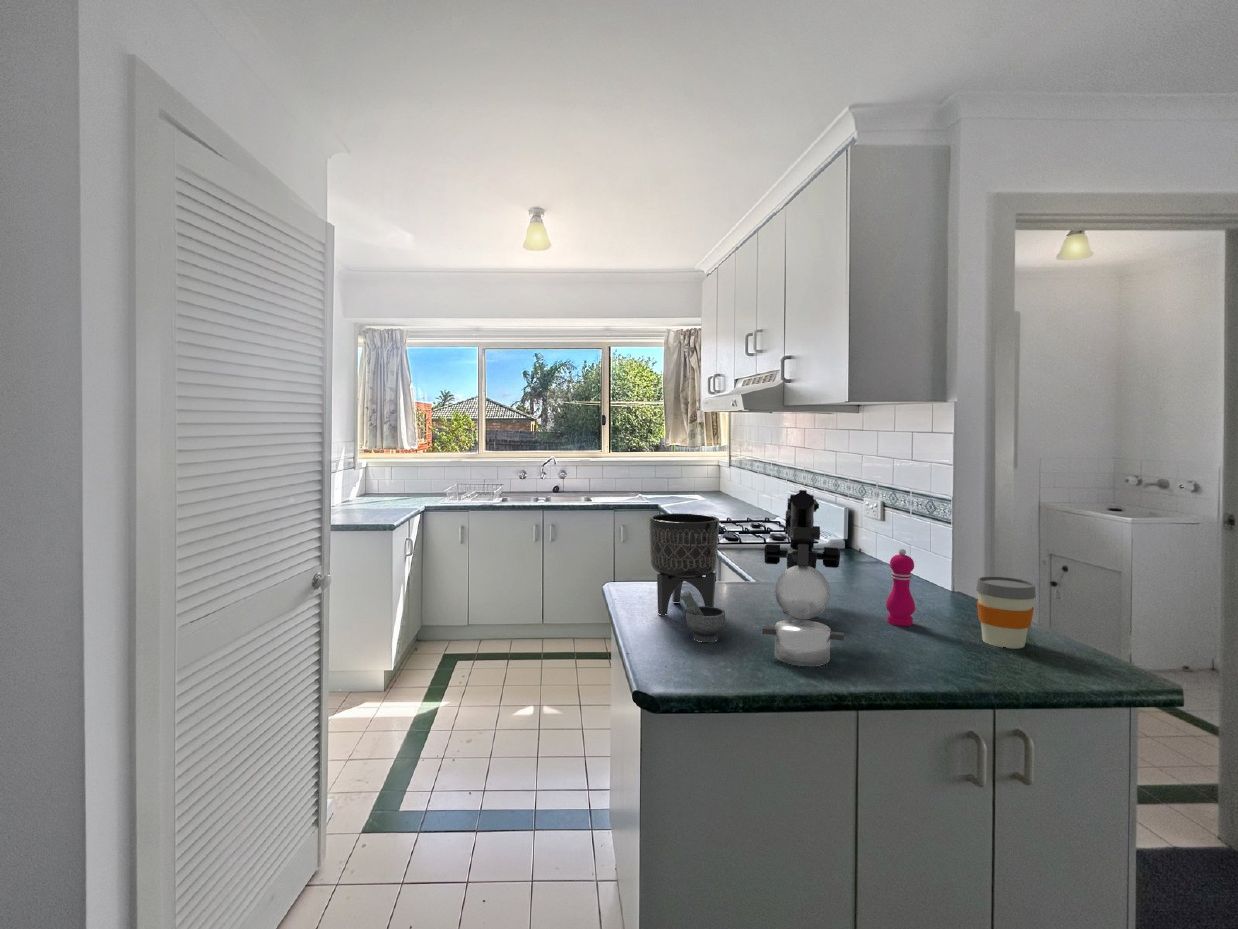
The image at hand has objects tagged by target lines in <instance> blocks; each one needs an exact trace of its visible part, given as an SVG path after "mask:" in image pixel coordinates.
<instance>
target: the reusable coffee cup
mask: <svg viewBox="0 0 1238 929" xmlns="http://www.w3.org/2000/svg"><path fill="white" fill-rule="evenodd" d="M975 590H976V592H977V598H978V600H976V606H977V616H978V620H979V622H980V627H981V636H982V638H981V639H982V641H983V642H984V643H986V644H987V643H988V645H990V646H994V647H999V648H1003V647H1006V648H1005V649H1022V648H1024V647H1025V645H1026V641H1027V636H1028V631H1029V629H1030V628H1031V625H1032V620H1033V615H1034V610H1035V608H1034V607H1033V605H1034V599H1036V596H1037V594H1036V585H1035V583H1034V582H1031V581H1028V580H1024V579H1021V578H1015V577H1008V576H995V575H994V576H993V575H992V576H990V575H989V576H988V575H986V576H980V577H978V578H977V582H976V589H975Z"/></svg>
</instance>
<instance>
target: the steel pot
mask: <svg viewBox="0 0 1238 929" xmlns="http://www.w3.org/2000/svg"><path fill="white" fill-rule="evenodd" d="M761 632H762V634H763V635H771V636H774V658H776V657H777V659H776V660H778V659H779V660H780V661H779V660H778V661H779V662H781V661H784V662H786V663H789V664H796V665H803V666H816V665H821V664H826V663H828V662H829V661H830V660H831V658H830V657H831V655H830V654H831V640H832V641H833V640H834V641H843V642H844V641H845V634H844V632H841V631H840V632H839V631H831V628H830V626H828V625H826V624H825V623H821V622H818V621H814V620H810V619H797V618H795V619H783V620H780V621H777V622H776V623H775V625H774V626H767V625H764V626H762V631H761ZM786 663H785V664H786ZM829 663H830V662H829ZM829 663H828V664H829ZM789 664H788V665H789ZM826 665H827V664H826Z"/></svg>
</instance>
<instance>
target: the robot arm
mask: <svg viewBox="0 0 1238 929" xmlns="http://www.w3.org/2000/svg"><path fill="white" fill-rule="evenodd" d="M807 492H808V491H807V490H806V489H800V490H798V493H796V494H789V495H790V496H789V497H788V498H787V510H785V522H784V523H785V525H784V526H785V527H784V528H785V529H784V530H785V531H787V537H788V538H789V539H790V540H789V541H790V542H789V547H788V548H787V549H781V544H777V543H766V544H765V545H764V551H763V552H764V563H765V564H767V565H778V564H779V563H780V561H781V559H786V570H787V569H788V568H791V567H793V566H798V544H808V545H809V546H808V566H810V567H812V568H815V569H816V568H817V560H819V561H820V560H821V561H822V565H823V566H824V567H825V568H829V569H830V568H833V569H834V568H835V569H837V568H839V567H840V561H841V560H840V559H841V550H840V548H839V547H838V546H837V547H836V546H823V551H820V550H819V551H818V550H814V547H815V545H814V543H815V542H814V540H815V541H820V540H821V539H820V538H821V526H816V525H815V526H814V522H815V520H814V513H816V512H817V510H818V509H820V504H819V503H818V501H817V499H816V498H814V495H813V494H810V493H807ZM782 612H783V613H785V612H784V611H783V610H782Z"/></svg>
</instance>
